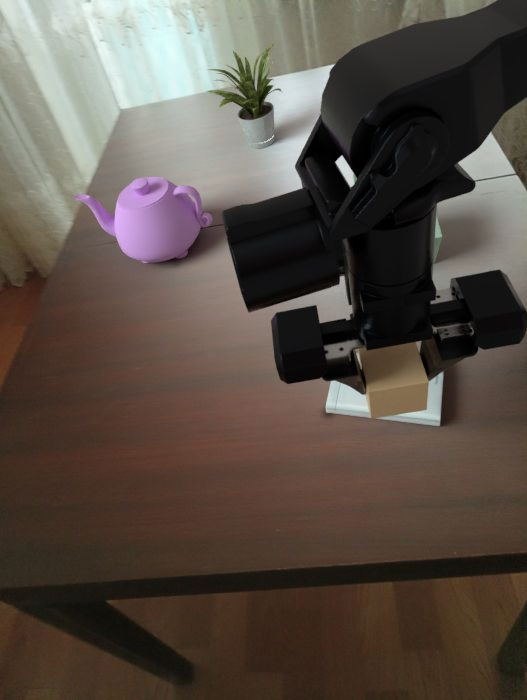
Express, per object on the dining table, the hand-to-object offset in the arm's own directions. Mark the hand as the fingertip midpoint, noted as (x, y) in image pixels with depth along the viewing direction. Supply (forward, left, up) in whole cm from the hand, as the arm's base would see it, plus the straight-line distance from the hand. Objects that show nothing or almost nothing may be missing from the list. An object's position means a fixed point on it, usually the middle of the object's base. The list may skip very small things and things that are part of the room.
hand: (392, 385), depth 46 cm
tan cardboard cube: (0, 0, -1) cm, 1 cm away
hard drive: (0, -6, -11) cm, 13 cm away
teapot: (+30, -42, -11) cm, 53 cm away
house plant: (+11, -70, -11) cm, 72 cm away
